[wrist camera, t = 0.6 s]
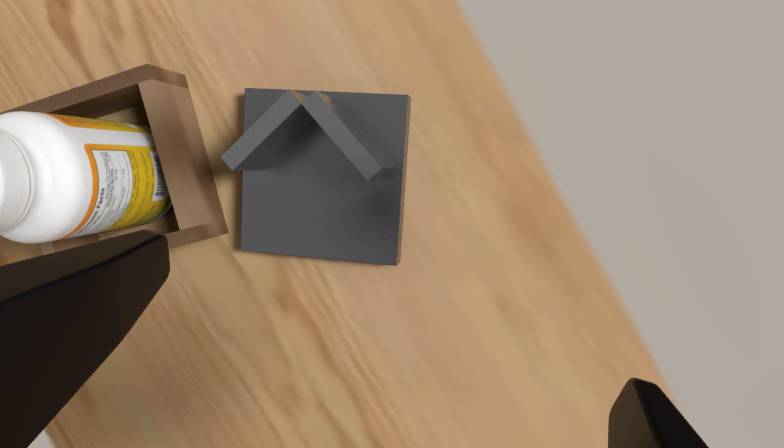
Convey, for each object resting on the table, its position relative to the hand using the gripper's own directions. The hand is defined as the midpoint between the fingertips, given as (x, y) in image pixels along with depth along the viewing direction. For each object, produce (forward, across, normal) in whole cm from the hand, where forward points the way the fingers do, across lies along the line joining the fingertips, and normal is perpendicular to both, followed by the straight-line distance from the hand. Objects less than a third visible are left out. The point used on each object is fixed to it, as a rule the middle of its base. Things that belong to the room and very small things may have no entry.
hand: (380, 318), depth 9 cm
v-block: (+14, +6, +5) cm, 17 cm away
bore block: (+14, +16, +8) cm, 23 cm away
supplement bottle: (+14, +16, +8) cm, 23 cm away
